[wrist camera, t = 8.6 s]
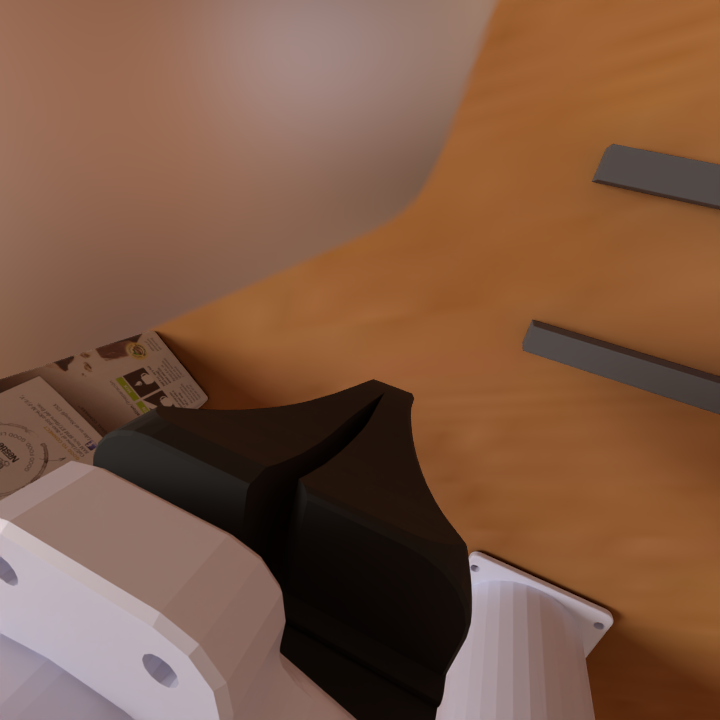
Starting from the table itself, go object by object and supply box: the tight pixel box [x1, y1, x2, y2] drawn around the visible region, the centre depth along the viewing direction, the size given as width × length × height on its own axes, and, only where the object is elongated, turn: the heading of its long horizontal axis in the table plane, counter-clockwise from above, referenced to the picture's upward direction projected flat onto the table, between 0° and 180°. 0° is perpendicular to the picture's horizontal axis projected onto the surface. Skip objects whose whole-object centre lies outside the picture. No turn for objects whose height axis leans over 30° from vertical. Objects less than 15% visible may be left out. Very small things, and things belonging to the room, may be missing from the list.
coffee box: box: [0, 331, 208, 501], centre depth 22 cm, size 9×6×16 cm
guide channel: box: [523, 144, 720, 414], centre depth 16 cm, size 8×8×1 cm
